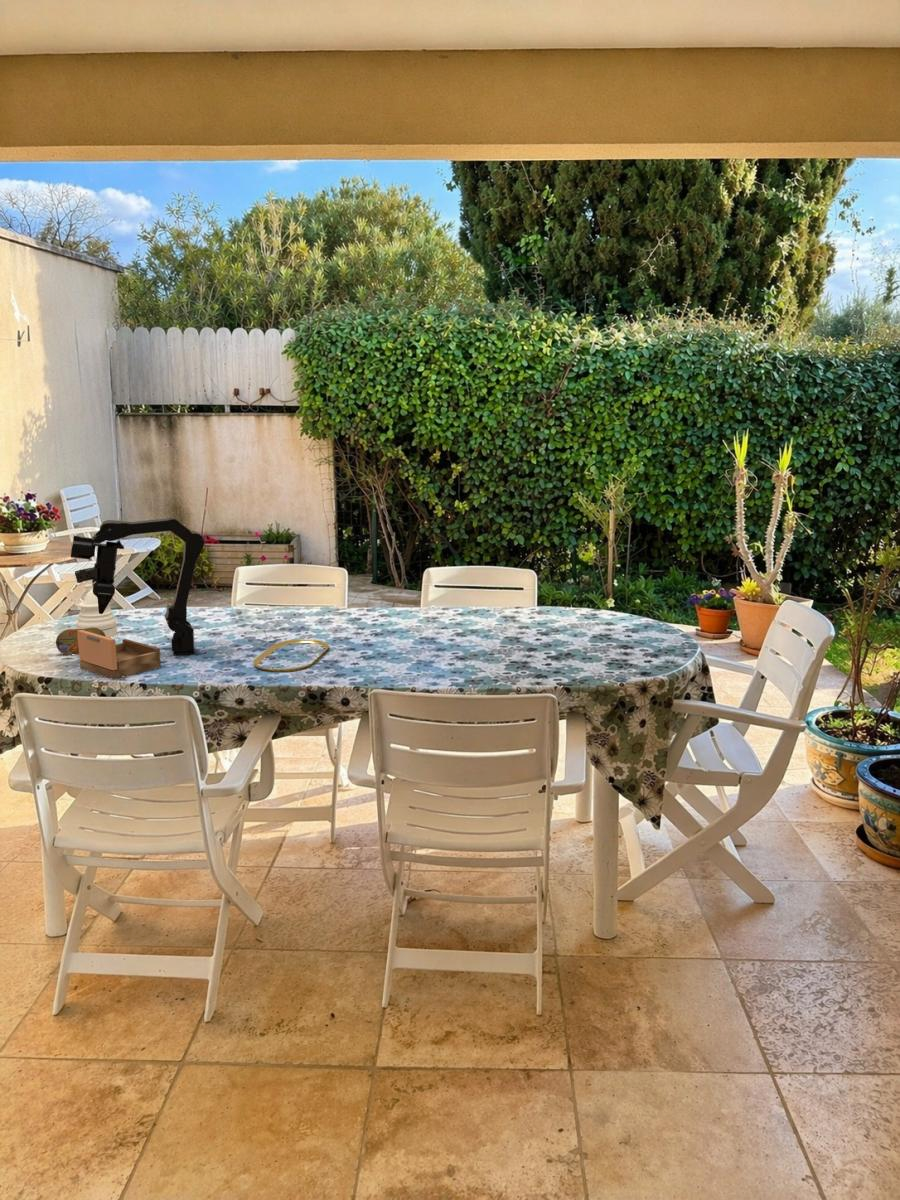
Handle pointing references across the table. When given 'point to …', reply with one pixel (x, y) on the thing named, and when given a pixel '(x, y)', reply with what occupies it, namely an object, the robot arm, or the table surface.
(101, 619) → the honey pot
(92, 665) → the brown shallow open box
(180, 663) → the table surface
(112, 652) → the tailgate
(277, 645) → the oval ring
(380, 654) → the table surface
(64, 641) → the tin
